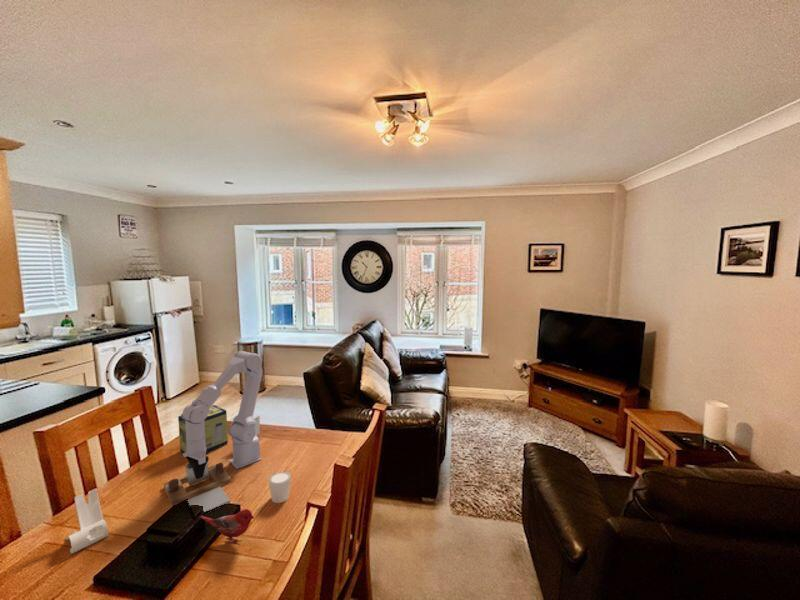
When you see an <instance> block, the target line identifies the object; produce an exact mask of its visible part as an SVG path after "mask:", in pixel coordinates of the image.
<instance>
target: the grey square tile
mask: <svg viewBox="0 0 800 600" xmlns="http://www.w3.org/2000/svg"><path fill="white" fill-rule="evenodd" d="M186 501H188V502H187V504H188V503H189V504H188V506H189V505H190V506H191V505H199V506H203V511H204V512H206V511H209V510H212V509H214V508H216V507H219V506H221V505H224V504H226V505H229V504H230V503H231V500H230V498H229V496H228V495H227V493H226V492H225V491H224V490H223V488H222V486H220V487H217V488H215V489H212V490H210V491H207V492H205V493H202V494H200V495H198V496H195V497H193V498H190V499H188V500H186ZM190 506H189V507H190ZM224 506H225V505H224ZM219 508H220V507H219Z"/></svg>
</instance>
